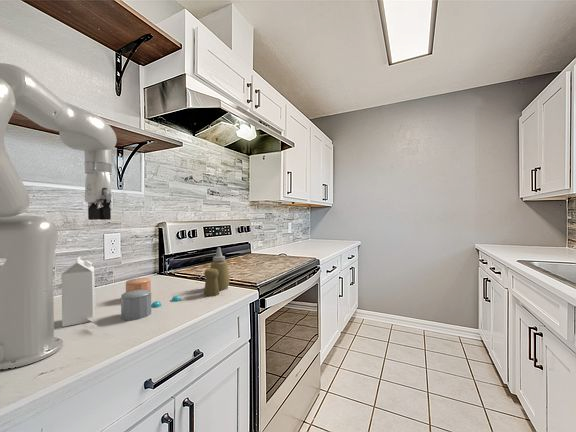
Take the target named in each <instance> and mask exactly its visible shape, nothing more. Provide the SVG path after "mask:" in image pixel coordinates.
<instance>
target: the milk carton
mask: <svg viewBox="0 0 576 432" xmlns="http://www.w3.org/2000/svg"><path fill="white" fill-rule="evenodd" d="M95 275H96V274H95V266H93V263H92V262H91V261H89V260H87V259H86V260H83V259H81V255H79V256H78V257H77V258H76V262H75V263H73V264H72V265H71V266H69V267H68V268H67V269H65V271H63V272H62V273H61V314H62V316H61V319H62V320H61V321H62V322H61V323H62V324H61V325H62V327H69V326H74V325H80V324H87V323H91V322H92V320H90V319H89V318H94V315H95V311H96V291H95V290H96V288H95V287H96V286H95V285H96V284H95V283H96V282H95V281H96V280H95Z"/></svg>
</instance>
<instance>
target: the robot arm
mask: <svg viewBox="0 0 576 432" xmlns="http://www.w3.org/2000/svg"><path fill="white" fill-rule="evenodd" d="M15 111H16V112H17V113H19V114H20V115H22V116H24V117H25V118H27V119H29V120H30V121H32V122H33V123H34V124H37V125H39V127H42V128H45V129H48V130H52V131H54V132H59V138H60V140H61V141H62V143H63V144H64V146H66V147H68V148H69V149H73V150H77V151H78V150H79V151H83V152H84V173H85V174H86V176H85V187H84V189H85V190H84V202H86V203H87V204H88V205H87V215H88V217H87V219H88V220H89V221H90V220H91V221H93V220H94V221H95V220H100V221H101V220H103V221H104V220H107V221H108V220H109V221H110V220H111V219H112V218H111V217H112V213H111V211H112V209H111V207H112V205H111V204H112V203H111V202H112V183H111V176H112V174H113V172H112V171H113V170H112V169H113V167H112V166H113V165H112V161H113V160H112V150H113V149H114V148H115V147H116V145H117V142H118V141H117V135H116V132H115V131H114V129H113V128H112V127H111V125H110V124H109V123H107V122H106V120H104V119H103V118H102V117H100V116H98V114H95V113H93V112H91V111H88V110H86V109H84V108H81V107H79V106H77V105H73V104H71V103H69V102H66V101H64V100H62V99H61V98H59V96H58V95H56V94H55V93H53V92H52V90H50V89H49V88H48V87H46V86H45V85H44V83H41V82H40V81H39V79H37V78H36V77H35V76H33V74H31V73H30V72H28V71H27V70H26V69H23V68H22V67H20V66H17V65H14V64H11V63H4V62H0V259H4V260H5V261H4V262H3V264H2V266H1V267H0V369H4V370H9V369H8V368H11V369H15V367H16V368H21V367H24V366H27V365H29V364H30V365H31V364H34V363H36V362H39V361H41V360H44V359H46V358H49V357H50V356H53V354H56V353H57V352H58V351H60V350H61V349H62V348H63V345H64V341H63V339H62V338H61V337H58V336H55V313H54V309H55V308H54V307H55V306H54V258H55V251H56V248H57V243H58V238H59V232H58V227H57V226H56V224H55V223H54V222H53V221H52V220H50V219H48V218H46V217H43V216H37V215H27V214H26V215H25V214H24V213H25V212H26V211H27V210H28V208H29V206H30V203H31V202H30V201H31V200H30V195H29V192H28V191H27V188H26V186H25V184H24V183H23V181H22V179H21V177H20V175H19V173H18V172H17V170H16V168H15V166H14V164H13V162H12V160H11V159H10V156H9V154H8V152H7V150H6V148H5V133H6V130H7V126H8V125H9V122H10V119H11V118H12V116H13V114H14V112H15ZM22 214H24V215H22ZM6 368H7V369H6Z"/></svg>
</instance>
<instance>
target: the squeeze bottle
mask: <svg viewBox="0 0 576 432" xmlns="http://www.w3.org/2000/svg"><path fill="white" fill-rule="evenodd" d="M209 269H217V270H218V272H219V275H218V277H217V280H218V287H219V292H220V291H224V290H228V288H229V284H230V276H229V275H230V274H229V267H228V262H227V260H226V256H225V255H223V253H222V249H221V247H220V246H219V247H217V248H216V253H215V255H214V256H212V261H211V262H210V268H209Z"/></svg>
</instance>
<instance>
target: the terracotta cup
mask: <svg viewBox="0 0 576 432" xmlns="http://www.w3.org/2000/svg"><path fill="white" fill-rule="evenodd" d="M135 290H150V291H151V292H152V279H151V278H150V277H137V278H132V279H128V280H126V281H125V293H126V292H130V291H135Z"/></svg>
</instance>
